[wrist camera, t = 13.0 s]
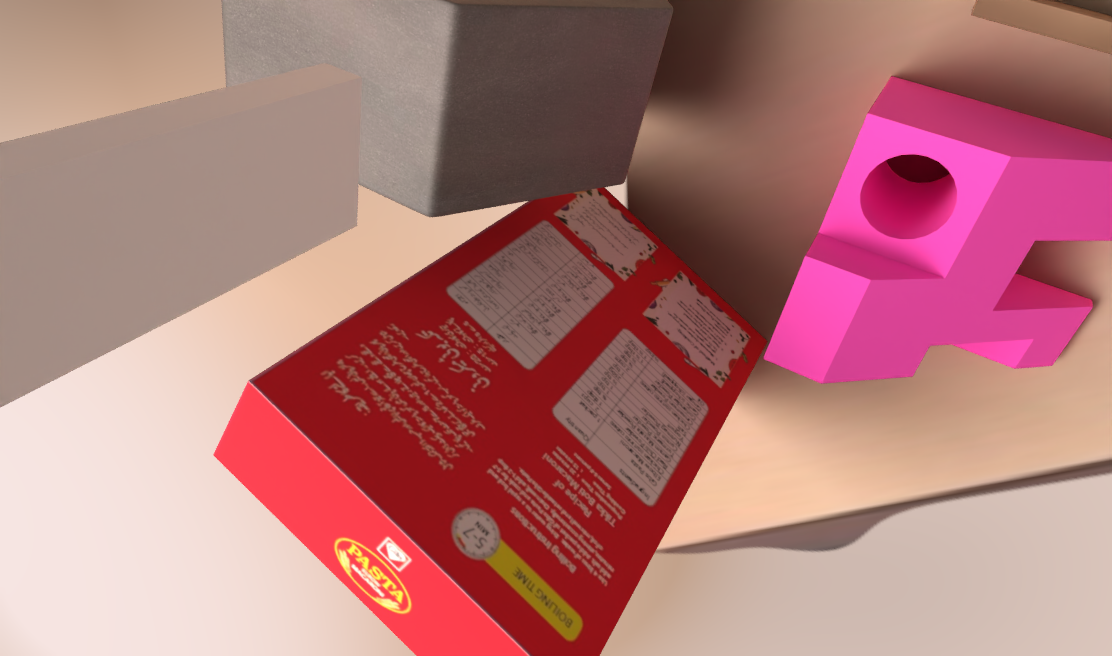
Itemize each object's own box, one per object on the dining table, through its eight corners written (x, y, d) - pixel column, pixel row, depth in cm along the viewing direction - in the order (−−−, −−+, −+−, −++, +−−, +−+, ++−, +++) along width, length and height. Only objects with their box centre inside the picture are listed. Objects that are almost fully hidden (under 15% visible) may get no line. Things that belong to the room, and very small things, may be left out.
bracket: (811, 267, 40) (763, 358, 32) (891, 75, 34) (856, 129, 26) (1051, 357, 36) (1063, 485, 28) (1187, 159, 30) (1249, 252, 23)
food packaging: (537, 226, 47) (213, 454, 28) (582, 166, 43) (248, 380, 24) (708, 388, 46) (498, 736, 27) (767, 341, 43) (575, 700, 24)
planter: (296, 20, 42) (185, 185, 26) (296, -136, 38) (163, -54, 22) (585, 72, 46) (647, 248, 29) (616, -66, 41) (710, 51, 25)
